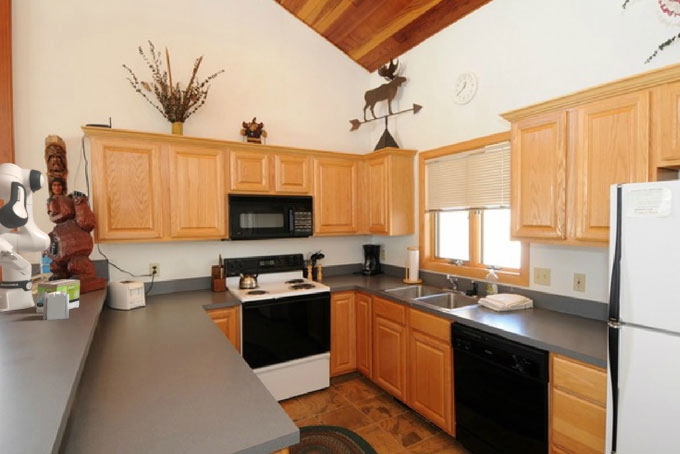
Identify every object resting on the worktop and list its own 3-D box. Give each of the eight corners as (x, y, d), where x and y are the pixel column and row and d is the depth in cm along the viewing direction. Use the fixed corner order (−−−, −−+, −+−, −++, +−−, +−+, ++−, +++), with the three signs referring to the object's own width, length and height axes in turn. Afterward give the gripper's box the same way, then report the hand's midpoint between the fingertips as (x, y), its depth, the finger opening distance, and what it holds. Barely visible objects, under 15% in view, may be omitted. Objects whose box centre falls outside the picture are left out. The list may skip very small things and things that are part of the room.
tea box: (56, 314, 170) (56, 283, 170) (35, 313, 170) (36, 283, 170) (79, 307, 185) (80, 279, 185) (61, 306, 185) (61, 278, 185)
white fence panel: (42, 320, 157) (42, 292, 157) (56, 315, 167) (57, 288, 167) (45, 320, 158) (45, 292, 158) (59, 315, 167) (60, 288, 167)
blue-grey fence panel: (47, 319, 158) (47, 294, 158) (48, 319, 159) (48, 293, 159) (68, 318, 161) (68, 293, 161) (69, 317, 162) (69, 293, 162)
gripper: (15, 245, 139) (44, 269, 147) (-3, 245, 150) (25, 267, 158) (-1, 257, 135) (29, 281, 143) (-18, 255, 146) (11, 278, 154)
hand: (27, 274), depth 150 cm, fingers closed
